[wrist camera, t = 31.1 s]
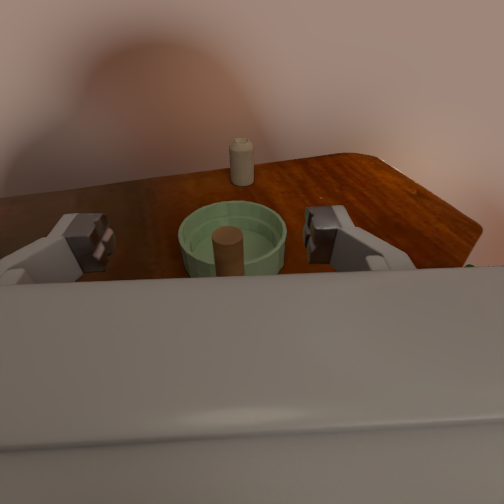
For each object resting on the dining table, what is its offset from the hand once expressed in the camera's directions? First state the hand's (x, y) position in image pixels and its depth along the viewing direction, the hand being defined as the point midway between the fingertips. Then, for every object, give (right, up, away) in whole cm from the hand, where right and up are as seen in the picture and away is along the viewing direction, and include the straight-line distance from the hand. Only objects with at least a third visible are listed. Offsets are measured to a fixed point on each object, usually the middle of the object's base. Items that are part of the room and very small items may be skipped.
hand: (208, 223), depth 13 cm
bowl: (-1, -2, +40) cm, 40 cm away
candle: (0, +16, +61) cm, 63 cm away
